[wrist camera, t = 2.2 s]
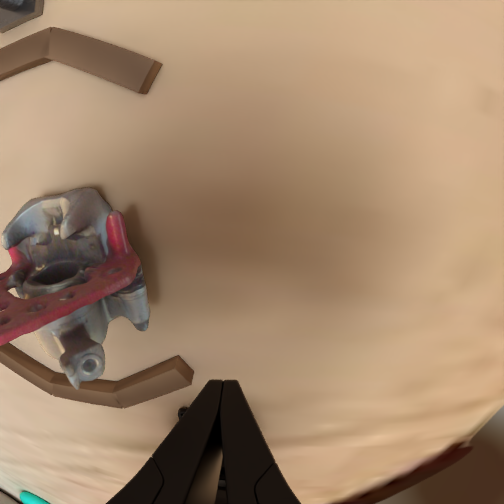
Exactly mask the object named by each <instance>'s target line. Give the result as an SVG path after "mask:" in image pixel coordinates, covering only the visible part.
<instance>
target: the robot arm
mask: <svg viewBox="0 0 504 504" xmlns="http://www.w3.org/2000/svg"><path fill="white" fill-rule="evenodd" d="M178 417H179V421H178V422H177V424H176V425H175V426H174V428H173V429H172V430H171V432H170V433H169V434H168V435H167V437H166V438H165V439H164V441H163V442H162V443H161V444H160V446H159V447H158V448H157V450H156V451H155V452H154V453H153V455H152V457H153V458H152V457H150V458H149V460H148V461H147V462H146V463H145V465H144V466H143V467H142V468H141V469H140V471H139V472H138V473H137V474H136V475H135V476H134V477H133V478H132V479H131V480H130V481H129V482H128V483H127V484H126V485H125V486H124V487H123V488H122V489H121V490H120V491H119V492H118V493H117V494H116V495H115V496H114V497H112V498H111V499H110V500H109V501H108V502H107V503H106V504H301V503H300V501H299V500H298V499H297V497H296V496H295V494H294V493H293V492H292V490H291V489H290V487H289V486H288V484H287V482H286V480H285V478H284V477H283V475H282V473H281V471H280V469H279V467H278V465H277V463H275V459H274V457H273V455H272V453H271V451H270V449H269V447H268V445H267V443H266V441H265V439H264V437H263V435H262V433H261V430H260V428H259V426H258V424H257V422H256V420H255V418H254V415H253V413H252V411H251V409H250V407H249V405H248V402H247V400H246V398H245V396H244V394H243V391H242V389H241V387H240V385H239V382H238V381H237V380H224V381H223V380H209V381H208V383H207V384H206V385H205V387H204V388H203V389H202V391H201V392H200V393H199V395H198V396H197V397H196V399H195V400H194V401H193V403H192V404H191V405H190V407H189V408H188V409H179V411H178Z"/></svg>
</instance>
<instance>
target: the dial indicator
mask: <svg viewBox="0 0 504 504" xmlns="http://www.w3.org/2000/svg"><path fill="white" fill-rule="evenodd" d="M43 4H44V0H0V33H4V32H6V31H8V30H10V29H12V28H14V27H16V26H18V25H20V24H22V23H24V22H26V21H29V20H31V19H33V18H35V17H38V16H40V15H42V13H43Z"/></svg>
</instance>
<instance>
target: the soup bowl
mask: <svg viewBox="0 0 504 504" xmlns="http://www.w3.org/2000/svg"><path fill="white" fill-rule="evenodd" d="M0 504H19V503H17V502H16V501H15V500H13V499H12V498H11V497H9V496H8V495H6V494H4V493H2V492H1V491H0Z"/></svg>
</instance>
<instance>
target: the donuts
mask: <svg viewBox="0 0 504 504" xmlns="http://www.w3.org/2000/svg"><path fill="white" fill-rule="evenodd" d="M20 499H21V501H22V502H23V504H49V503H48V502H46V501H45V500H43V499H41V498H39V497H37V496H36V495H34V494H31V493H29V492H21V493H20Z"/></svg>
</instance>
